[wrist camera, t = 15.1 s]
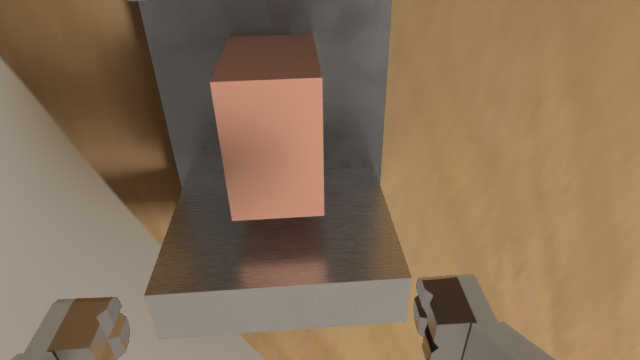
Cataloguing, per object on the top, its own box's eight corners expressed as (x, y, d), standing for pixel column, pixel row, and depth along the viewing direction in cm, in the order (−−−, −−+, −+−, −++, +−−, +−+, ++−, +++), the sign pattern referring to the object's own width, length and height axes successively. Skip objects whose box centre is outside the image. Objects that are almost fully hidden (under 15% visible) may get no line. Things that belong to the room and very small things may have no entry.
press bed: (48, -444, 15) (-356, -1038, 6) (411, -440, 16) (606, -966, 6) (194, 212, 31) (153, 353, 21) (374, 202, 32) (413, 333, 22)
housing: (312, 33, 23) (322, 77, 17) (315, 148, 27) (324, 215, 21) (228, 36, 23) (209, 82, 17) (243, 151, 27) (231, 220, 21)
